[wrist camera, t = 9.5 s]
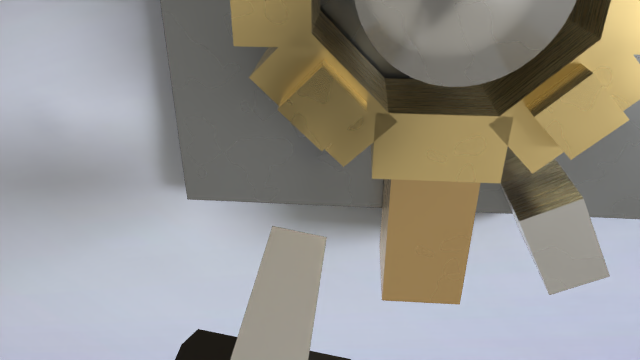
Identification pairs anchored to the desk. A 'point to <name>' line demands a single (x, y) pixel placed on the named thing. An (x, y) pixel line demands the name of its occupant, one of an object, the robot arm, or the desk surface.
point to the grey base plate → (356, 177)
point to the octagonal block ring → (442, 122)
